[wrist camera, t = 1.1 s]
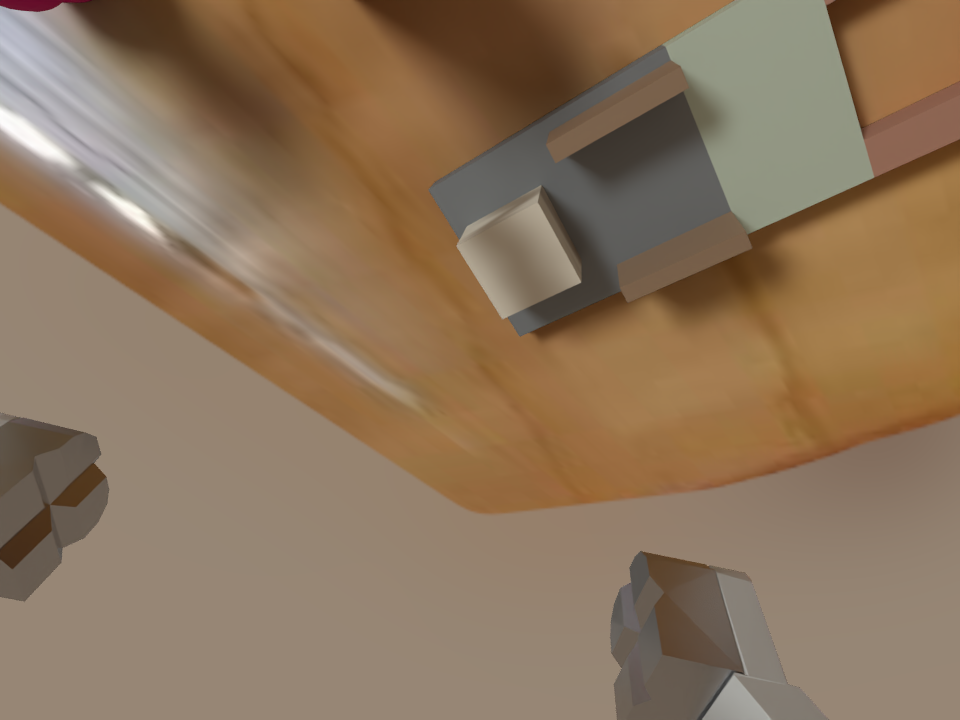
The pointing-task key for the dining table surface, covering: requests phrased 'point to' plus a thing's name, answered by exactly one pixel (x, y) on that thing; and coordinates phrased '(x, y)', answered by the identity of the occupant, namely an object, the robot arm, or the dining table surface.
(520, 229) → the birch block
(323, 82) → the dining table surface
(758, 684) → the robot arm
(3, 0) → the pepper mill
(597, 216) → the board
